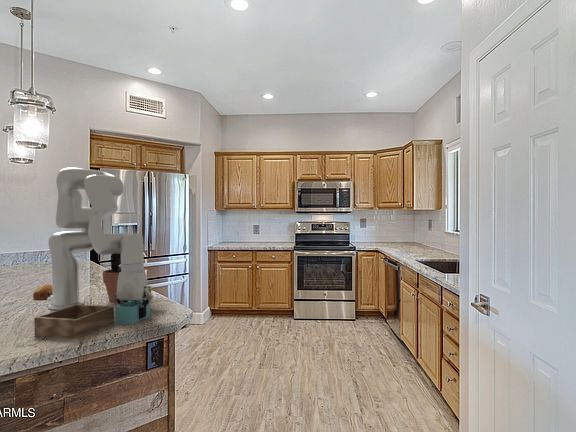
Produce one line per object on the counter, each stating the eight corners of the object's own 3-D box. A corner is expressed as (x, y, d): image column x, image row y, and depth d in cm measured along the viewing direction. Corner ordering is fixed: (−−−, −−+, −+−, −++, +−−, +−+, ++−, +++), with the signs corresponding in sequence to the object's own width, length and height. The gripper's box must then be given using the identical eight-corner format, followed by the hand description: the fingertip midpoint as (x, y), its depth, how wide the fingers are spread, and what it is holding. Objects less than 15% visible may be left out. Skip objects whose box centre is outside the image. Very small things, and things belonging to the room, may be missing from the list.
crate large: (34, 336, 109) (34, 317, 109) (76, 320, 124) (76, 304, 124) (76, 339, 105) (75, 320, 105) (113, 323, 121) (113, 306, 121)
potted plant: (95, 301, 151) (94, 245, 151) (120, 294, 164) (119, 242, 164) (119, 304, 146) (118, 245, 146) (143, 296, 159) (141, 243, 159)
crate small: (116, 323, 119) (115, 306, 119) (135, 315, 129) (134, 299, 129) (132, 324, 118) (132, 307, 118) (150, 316, 128) (150, 300, 128)
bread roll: (56, 301, 168) (52, 286, 170) (63, 295, 162) (60, 279, 164) (32, 306, 160) (29, 290, 162) (39, 299, 154) (36, 283, 156)
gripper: (104, 269, 122) (105, 319, 122) (147, 270, 118) (148, 321, 118) (119, 266, 129) (120, 313, 129) (159, 266, 125) (161, 315, 125)
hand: (133, 316), depth 124 cm, fingers closed on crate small, 6 cm apart
